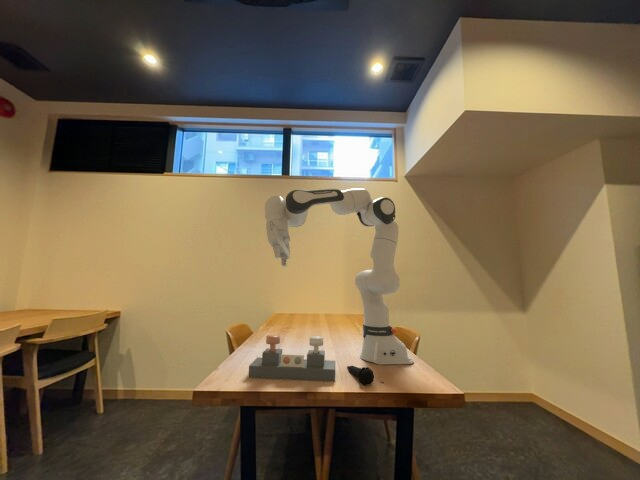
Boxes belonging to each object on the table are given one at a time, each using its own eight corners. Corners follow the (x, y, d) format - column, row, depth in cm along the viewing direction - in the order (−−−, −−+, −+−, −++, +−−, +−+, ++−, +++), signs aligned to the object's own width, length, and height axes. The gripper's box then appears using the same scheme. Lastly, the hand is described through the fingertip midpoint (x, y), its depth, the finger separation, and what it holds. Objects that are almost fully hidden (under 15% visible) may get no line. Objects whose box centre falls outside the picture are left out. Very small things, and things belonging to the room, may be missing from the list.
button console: (335, 371, 103) (335, 349, 104) (334, 381, 94) (335, 357, 95) (256, 368, 105) (257, 346, 106) (248, 377, 96) (249, 353, 97)
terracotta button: (280, 351, 103) (281, 334, 104) (277, 355, 98) (278, 337, 99) (267, 351, 104) (268, 334, 104) (264, 354, 99) (264, 337, 99)
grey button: (323, 353, 102) (323, 336, 103) (322, 357, 97) (322, 339, 98) (309, 352, 103) (310, 335, 103) (308, 356, 98) (308, 338, 98)
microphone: (343, 377, 107) (365, 390, 88) (339, 362, 108) (359, 372, 89) (356, 371, 109) (379, 383, 90) (351, 356, 110) (373, 366, 91)
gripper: (277, 217, 104) (282, 250, 98) (290, 239, 122) (294, 268, 116) (261, 220, 104) (264, 253, 98) (277, 242, 123) (280, 271, 117)
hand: (281, 262), depth 107 cm, fingers open, 8 cm apart
